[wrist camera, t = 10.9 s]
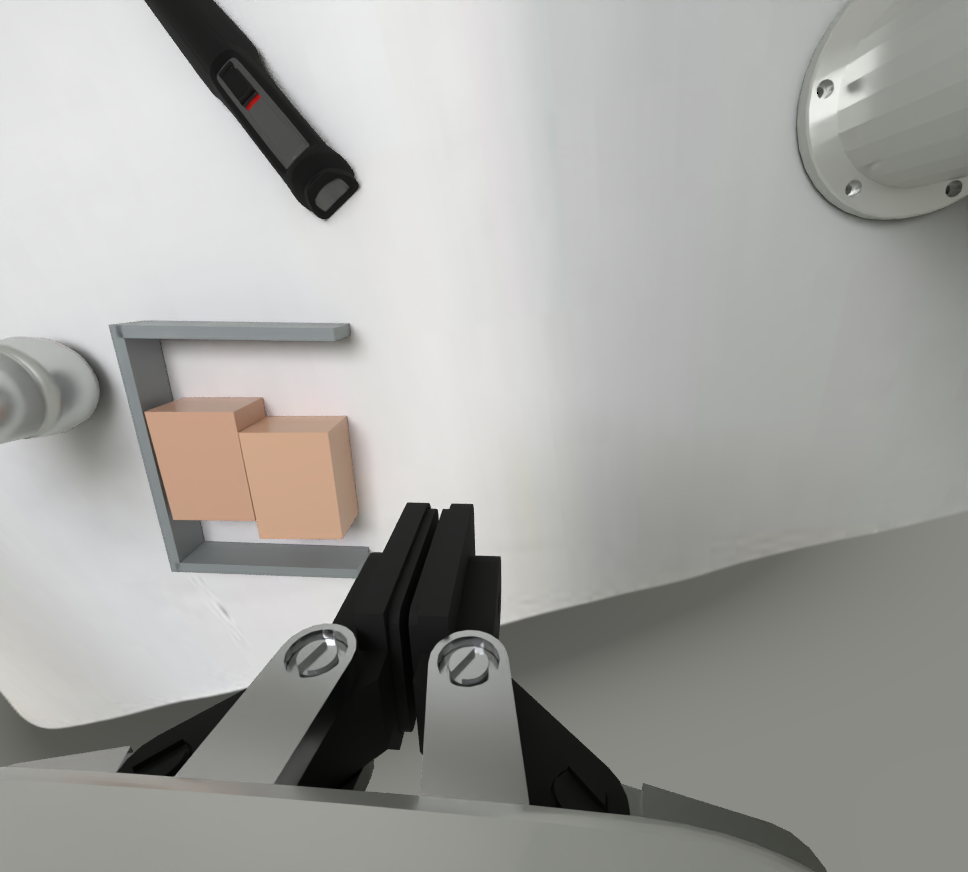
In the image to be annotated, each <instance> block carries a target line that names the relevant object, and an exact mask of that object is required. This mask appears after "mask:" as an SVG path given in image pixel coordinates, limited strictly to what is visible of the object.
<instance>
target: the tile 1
mask: <svg viewBox="0 0 968 872" xmlns="http://www.w3.org/2000/svg"><path fill="white" fill-rule="evenodd" d="M144 413H145V416H146V420H147V424H148V428H149V431H150V435H151V439H152V442H153V446H154V450H155V454H156V457H157V461H158V465H159V468H160V472H161V476H162V480H163V483H164V487H165V491H166V494H167V498H168V502H169V506H170V509H171V513H172V517H173V520H224V521H256V516H255V512H254V507H253V502H252V497H251V492H250V487H249V483H248V478H247V473H246V468H245V463H244V458H243V454H242V449H241V444H240V439H239V434H238V433H239V432H240V431H242V430H244V429H245V428H247V427H249V426H251V425H252V424H254V423H256V422H257V421H259V420H261V419H263V418H264V417H266V413H265V407H264V402H263V397H183V398H180V399H177V400H175V401H172V402H169V403H167V404H164V405H161V406H159V407H156V408H153V409H151V410H148V411H145V412H144Z"/></svg>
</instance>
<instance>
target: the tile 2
mask: <svg viewBox="0 0 968 872" xmlns="http://www.w3.org/2000/svg"><path fill="white" fill-rule="evenodd" d="M238 434H239V439H240V444H241V449H242V454H243V458H244V463H245V468H246V473H247V478H248V483H249V487H250V492H251V497H252V502H253V507H254V512H255V516H256V521H257V526H258V531H259V536H260V539H343V538H344V536H345V534H346V533H347V531H348V530H349V528H350V526H351V525H352V523H353V522H354V520H355V518H356V517H357V515H358V514H359V512H358V504H357V496H356V488H355V480H354V472H353V464H352V455H351V447H350V439H349V431H348V423H347V416H266V417H264V418H263V419H261V420H259V421H257V422H256V423H254V424H252V425H251V426H249V427H247V428H245V429H244V430H242V431H240V432H239V433H238Z"/></svg>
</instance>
